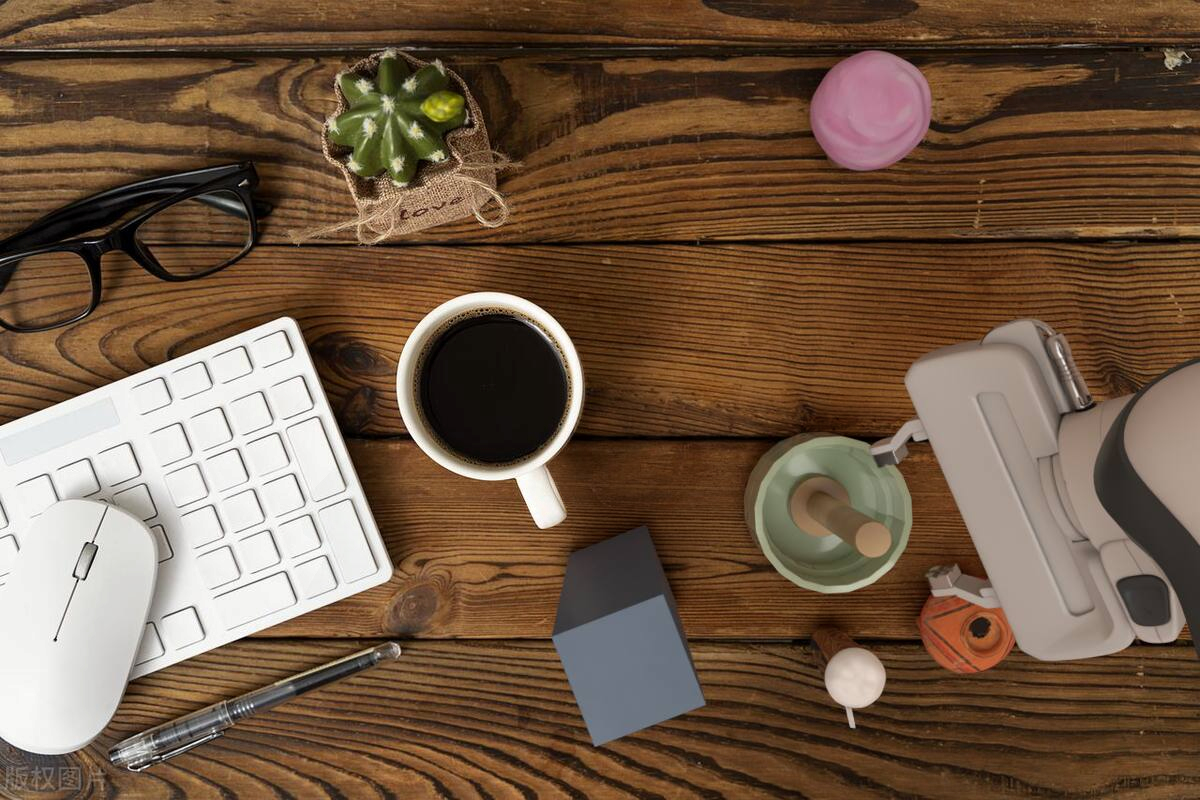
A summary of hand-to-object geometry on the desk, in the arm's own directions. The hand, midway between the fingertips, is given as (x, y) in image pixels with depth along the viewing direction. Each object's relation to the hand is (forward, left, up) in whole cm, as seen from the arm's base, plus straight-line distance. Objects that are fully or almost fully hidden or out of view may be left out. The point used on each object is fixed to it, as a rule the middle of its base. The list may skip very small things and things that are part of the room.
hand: (904, 518), depth 58 cm
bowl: (0, +3, -15) cm, 15 cm away
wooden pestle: (0, +3, -14) cm, 14 cm away
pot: (-13, -5, -15) cm, 20 cm away
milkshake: (-12, +6, -15) cm, 20 cm away
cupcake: (+28, -11, -15) cm, 33 cm away
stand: (0, +20, -15) cm, 25 cm away
